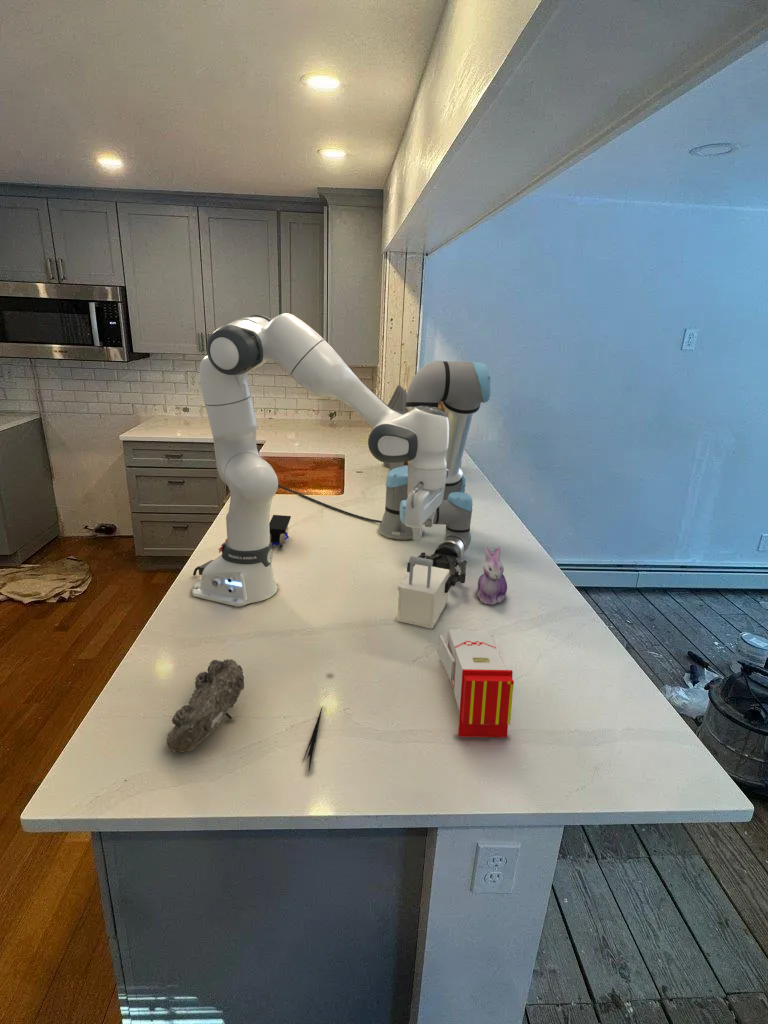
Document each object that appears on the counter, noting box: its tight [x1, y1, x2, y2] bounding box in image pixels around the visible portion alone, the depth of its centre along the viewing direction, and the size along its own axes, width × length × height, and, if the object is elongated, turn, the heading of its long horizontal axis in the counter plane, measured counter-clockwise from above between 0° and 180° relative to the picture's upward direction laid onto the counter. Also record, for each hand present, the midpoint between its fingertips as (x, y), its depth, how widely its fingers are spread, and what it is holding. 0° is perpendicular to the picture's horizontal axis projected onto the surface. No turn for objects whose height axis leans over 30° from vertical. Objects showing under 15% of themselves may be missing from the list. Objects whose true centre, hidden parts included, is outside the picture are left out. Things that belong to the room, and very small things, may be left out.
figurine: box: [476, 545, 508, 605], centre depth 155 cm, size 9×10×15 cm
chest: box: [396, 574, 450, 630], centre depth 148 cm, size 14×9×9 cm, turn 159°
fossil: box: [166, 658, 245, 754], centre depth 106 cm, size 22×10×15 cm
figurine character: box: [269, 514, 292, 550], centre depth 187 cm, size 7×8×15 cm
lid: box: [397, 555, 450, 598], centre depth 144 cm, size 15×9×9 cm, turn 159°
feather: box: [301, 673, 332, 771], centre depth 108 cm, size 2×28×2 cm
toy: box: [437, 628, 515, 738], centre depth 117 cm, size 12×13×30 cm
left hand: (423, 532), depth 136 cm, fingers open, 8 cm apart
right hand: (427, 584), depth 150 cm, fingers closed on chest, 9 cm apart
